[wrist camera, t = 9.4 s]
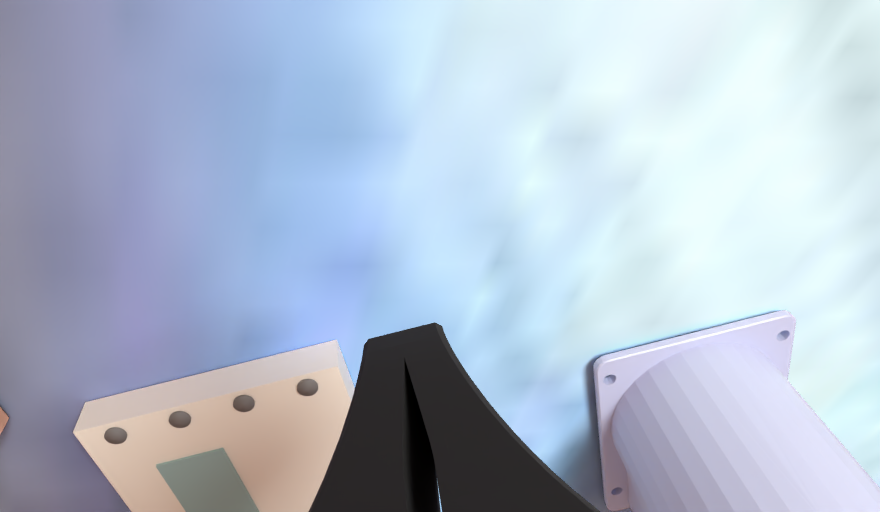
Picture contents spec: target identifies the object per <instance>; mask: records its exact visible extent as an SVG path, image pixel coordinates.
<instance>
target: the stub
mask: <svg viewBox="0 0 880 512" xmlns="http://www.w3.org/2000/svg"><path fill="white" fill-rule="evenodd" d="M8 419H9V417H8V416H7V415H6V413H5V412H4V411H3V410H2V409H1V407H0V434H1V432H2V431H3V429H4V427H5V425H6V423H7V421H8Z"/></svg>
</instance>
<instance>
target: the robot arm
mask: <svg viewBox="0 0 880 512" xmlns="http://www.w3.org/2000/svg"><path fill="white" fill-rule="evenodd" d="M795 326H796V318H795V317H794V316H793V315H792V314H791V313H790V312H789V311H786V310H782V311H777V312H773V313H769V314H765V315H761V316H757V317H753V318H749V319H745V320H741V321H737V322H733V323H729V324H725V325H722V326H718V327H714V328H710V329H706V330H702V331H698V332H694V333H690V334H686V335H682V336H678V337H674V338H670V339H666V340H662V341H658V342H654V343H650V344H646V345H642V346H639V347H635V348H631V349H627V350H623V351H619V352H615V353H611V354H607V355H604V356H601V357H600V358H598V359H597V360H596V361H595V363H594V366H593V370H594V382H595V394H596V406H597V418H598V430H599V442H600V454H601V466H602V478H603V490H604V501H605V504H606V506H607V508H608V509H609V510H610V511H619V510H623V509H627V508H631V510H632V512H880V487H879V486H878V485H877V484H876V483H875V482H874V480H873V479H872V478H871V477H870V476H869V475H868V473H867V472H866V471H865V470H864V469H863V468H862V466H861V465H860V464H859V463H858V462H857V461H856V459H855V458H854V457H853V456H852V455H851V454H850V452H849V451H848V450H847V449H846V448H845V447H844V445H843V444H842V443H841V442H840V441H839V440H838V438H837V437H836V436H835V435H834V434H833V433H832V431H831V430H830V429H829V428H828V427H827V426H826V424H825V423H824V422H823V421H822V420H821V419H820V417H819V416H818V415H817V414H816V413H815V412H814V410H813V409H812V408H811V407H810V406H809V405H808V403H807V402H806V401H805V400H804V399H803V398H802V396H801V395H800V394H799V393H798V392H797V391H796V389H795V388H794V387H793V386H792V385H791V384H790V382H789V381H788V374H789V367H790V360H791V353H792V347H793V340H794V333H795ZM608 375H610V376H609V377H607V378H605V377H606V376H608ZM437 480H438V483H437ZM438 487H439V493H440V499H441V506H442V512H600V511H599V510H597V509H596V508H595V507H594V506H592V505H591V504H590V503H589V502H587V501H586V500H585V499H584V498H583V497H581V496H580V495H579V494H578V493H576V492H575V491H574V490H573V489H572V488H571V487H569V486H568V485H567V484H566V483H565V482H564V481H563V480H562V479H561V478H560V477H558V476H557V475H556V474H555V473H554V472H553V471H552V470H551V469H550V468H549V467H548V466H547V465H546V464H545V463H544V462H543V461H542V460H540V459H539V458H538V457H537V456H536V455H535V454H534V453H533V452H532V451H531V450H530V449H529V448H528V447H527V445H526V444H525V443H524V442H523V441H522V440H521V439H520V438H519V437H518V436H517V435H516V434H515V433H514V432H513V430H512V429H511V428H510V427H509V426H508V425H507V424H506V422H505V421H504V420H503V419H502V418H501V417H500V416H499V414H498V413H497V412H496V411H495V409H494V408H493V407H492V406H491V405H490V403H489V402H488V401H487V400H486V398H485V397H484V396H483V394H482V393H481V392H480V390H479V389H478V388H477V386H476V385H475V384H474V382H473V381H472V380H471V378H470V377H469V375H468V374H467V372H466V371H465V369H464V368H463V366H462V365H461V363H460V362H459V360H458V358H457V357H456V355H455V353H454V352H453V350H452V348H451V346H450V344H449V342H448V340H447V338H446V336H445V334H444V331H443V328H442V326H441V325H439V324H437V323H431V324H427V325H423V326H419V327H415V328H411V329H407V330H403V331H399V332H395V333H391V334H387V335H383V336H379V337H375V338H371V339H368V341H367V342H366V343H365V345H364V349H363V356H362V361H361V366H360V371H359V375H358V379H357V383H356V387H355V390H354V394H353V398H352V401H351V404H350V407H349V410H348V413H347V417H346V420H345V423H344V426H343V429H342V432H341V435H340V438H339V441H338V443H337V446H336V448H335V451H334V453H333V456H332V458H331V461H330V464H329V466H328V469H327V471H326V474H325V476H324V479H323V481H322V483H321V485H320V488H319V490H318V492H317V495H316V497H315V499H314V501H313V503H312V505H311V507H310V509H309V512H440V503H439V493H438Z"/></svg>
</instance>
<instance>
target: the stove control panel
mask: <svg viewBox="0 0 880 512" xmlns="http://www.w3.org/2000/svg"><path fill="white" fill-rule="evenodd" d="M354 390H355V387H354V385H353V382H352V379H351V377H350V374H349V371H348V368H347V366H346V363H345V360H344V358H343V355H342V352H341V349H340V347H339V344H338V341H337V340H333V341H329V342H325V343H321V344H317V345H313V346H309V347H305V348H301V349H297V350H293V351H289V352H285V353H281V354H277V355H273V356H269V357H265V358H261V359H257V360H253V361H249V362H245V363H241V364H237V365H233V366H229V367H225V368H221V369H217V370H213V371H209V372H205V373H201V374H197V375H193V376H189V377H185V378H181V379H177V380H173V381H169V382H165V383H161V384H157V385H153V386H149V387H145V388H141V389H137V390H133V391H129V392H125V393H121V394H117V395H113V396H109V397H105V398H101V399H97V400H93V401H89V402H85V404H84V407H83V409H82V412H81V414H80V417H79V419H78V421H77V424H76V426H75V429H74V431H73V433H74V435H75V436H76V437H77V439H78V440H79V441H80V443H81V444H82V445H83V447H84V448H85V449H86V451H87V452H88V454H89V455H90V456H91V458H92V459H93V460H94V462H95V463H96V464H97V466H98V467H99V468H100V470H101V471H102V472H103V474H104V475H105V476H106V478H107V479H108V480H109V482H110V483H111V484H112V486H113V487H114V489H115V490H116V491H117V493H118V494H119V495H120V497H121V498H122V499H123V501H124V502H125V503H126V505H127V506H128V507H129V509H130V510H131V511H132V512H309V509H310V507H311V505H312V503H313V501H314V499H315V497H316V495H317V492H318V490H319V488H320V485H321V483H322V481H323V479H324V476H325V474H326V471H327V469H328V466H329V464H330V461H331V458H332V456H333V453H334V451H335V448H336V446H337V443H338V441H339V438H340V435H341V432H342V429H343V426H344V423H345V420H346V417H347V413H348V410H349V407H350V404H351V401H352V398H353V394H354Z"/></svg>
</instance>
